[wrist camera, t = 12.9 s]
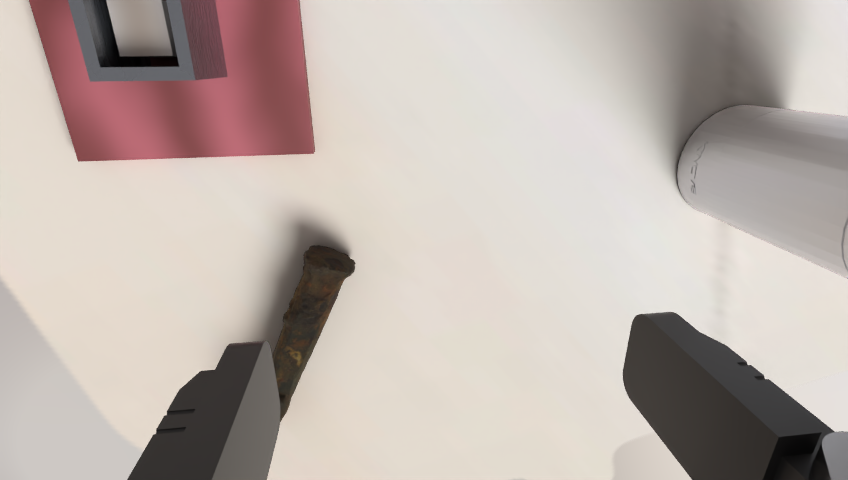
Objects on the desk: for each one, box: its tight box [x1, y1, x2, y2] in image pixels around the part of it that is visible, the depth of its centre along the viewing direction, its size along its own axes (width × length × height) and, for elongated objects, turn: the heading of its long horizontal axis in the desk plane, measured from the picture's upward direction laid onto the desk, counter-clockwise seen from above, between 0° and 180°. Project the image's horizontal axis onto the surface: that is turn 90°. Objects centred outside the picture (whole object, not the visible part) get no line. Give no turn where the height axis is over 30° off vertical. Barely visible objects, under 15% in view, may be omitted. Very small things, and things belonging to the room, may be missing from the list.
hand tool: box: [272, 246, 355, 422], centre depth 37 cm, size 19×4×5 cm, turn 153°
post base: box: [29, 0, 315, 161], centre depth 27 cm, size 16×16×6 cm
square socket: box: [68, 0, 228, 82], centre depth 26 cm, size 5×5×6 cm
